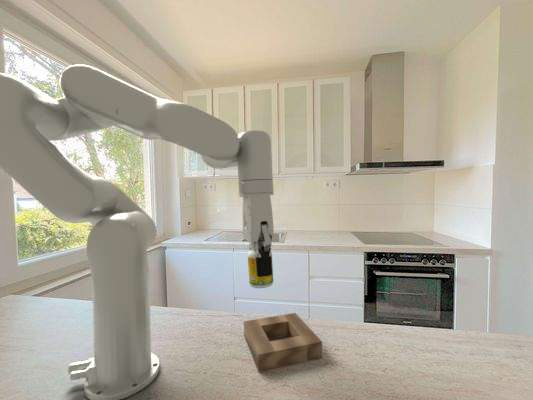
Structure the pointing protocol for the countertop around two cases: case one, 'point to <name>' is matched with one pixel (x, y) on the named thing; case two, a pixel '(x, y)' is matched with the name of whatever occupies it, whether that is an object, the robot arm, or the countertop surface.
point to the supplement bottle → (253, 278)
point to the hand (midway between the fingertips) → (260, 270)
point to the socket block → (281, 341)
